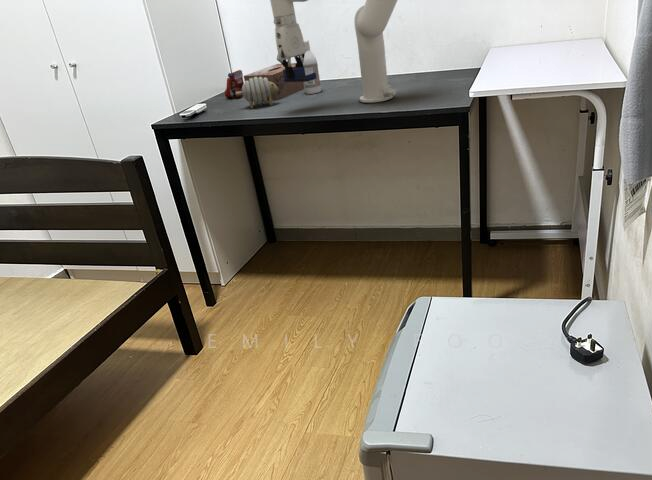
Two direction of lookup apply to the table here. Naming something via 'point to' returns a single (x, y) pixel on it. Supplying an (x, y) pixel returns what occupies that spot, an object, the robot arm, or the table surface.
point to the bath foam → (311, 71)
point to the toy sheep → (258, 91)
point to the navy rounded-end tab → (299, 75)
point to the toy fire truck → (234, 84)
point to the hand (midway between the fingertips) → (295, 76)
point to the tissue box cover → (277, 80)
